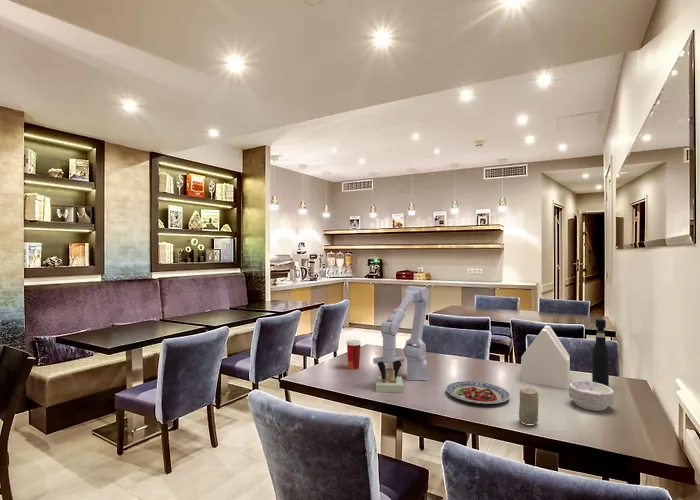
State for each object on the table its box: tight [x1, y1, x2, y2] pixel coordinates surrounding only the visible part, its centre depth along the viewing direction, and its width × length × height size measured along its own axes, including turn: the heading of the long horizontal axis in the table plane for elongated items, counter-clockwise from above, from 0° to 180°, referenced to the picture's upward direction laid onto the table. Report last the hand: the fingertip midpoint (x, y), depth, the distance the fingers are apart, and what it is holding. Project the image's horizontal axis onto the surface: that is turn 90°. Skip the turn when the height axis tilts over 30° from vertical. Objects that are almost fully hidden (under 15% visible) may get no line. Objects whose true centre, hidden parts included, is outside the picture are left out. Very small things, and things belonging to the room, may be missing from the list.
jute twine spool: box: [518, 387, 540, 425], centre depth 142 cm, size 6×8×12 cm
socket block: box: [374, 375, 405, 393], centre depth 178 cm, size 12×12×3 cm
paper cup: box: [345, 339, 362, 371], centre depth 207 cm, size 8×8×14 cm
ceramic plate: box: [445, 380, 511, 405], centre depth 169 cm, size 26×26×3 cm
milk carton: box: [520, 325, 571, 390], centre depth 189 cm, size 19×15×25 cm
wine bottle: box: [591, 319, 610, 387], centre depth 182 cm, size 6×6×30 cm
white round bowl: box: [568, 380, 615, 412], centre depth 158 cm, size 15×15×8 cm
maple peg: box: [383, 367, 395, 383], centre depth 178 cm, size 4×4×8 cm
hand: (389, 378), depth 178 cm, fingers open, 5 cm apart
